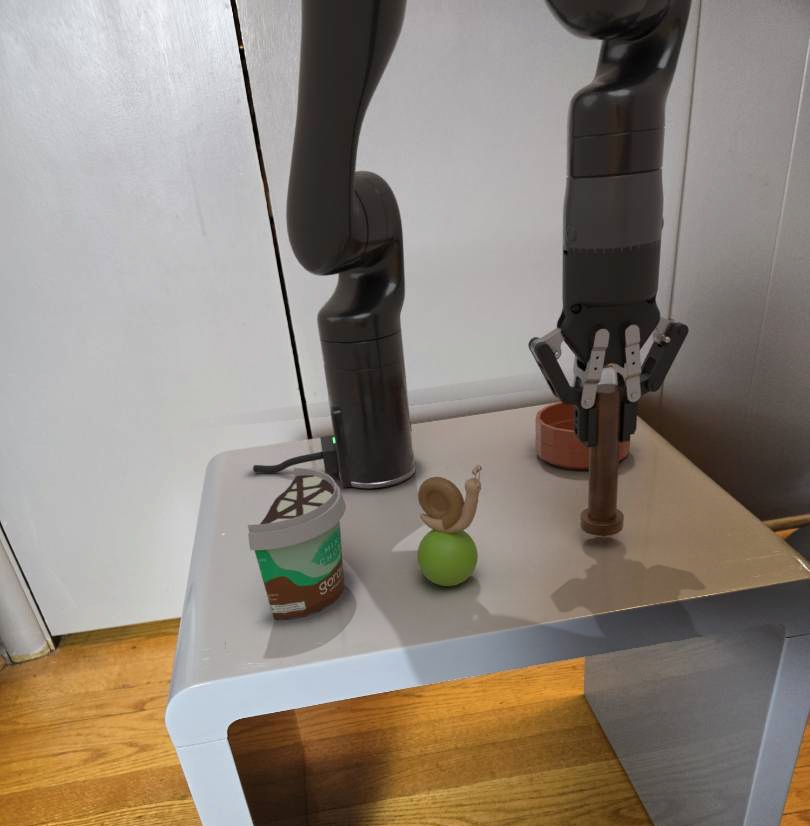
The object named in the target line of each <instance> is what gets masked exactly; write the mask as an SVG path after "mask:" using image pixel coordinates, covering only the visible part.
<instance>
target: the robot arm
mask: <svg viewBox="0 0 810 826" xmlns="http://www.w3.org/2000/svg"><path fill="white" fill-rule="evenodd" d="M692 2H693V0H543V3H544V5H545V6H546V9H547V10H548V12H549V13H550V14H551V16H552V17H553V18H554V20H555V21H556V22H557V23H558V24H559V25H560V27H562V29H564V30H565V31H566V32H567V33H569V34H570V35H572V36H573V37H575V38H577V39H581V40H584V41H601V42H600V49H599V53H598V59H597V64H596V69H595V73H594V77H593V79H592V80H591V82H590V83H589V84H587V85H585V86H583V87H582V88H580V89H579V90H577V91H576V92H575V93H574V94H573V96H572V97H571V99H570V101H569V105H568V110H567V118H566V120H567V121H566V167H565V168H566V169H565V170H566V172H565V175H566V178H565V190H564V191H565V192H564V197H563V205H562V206H563V207H562V276H561V277H562V279H561V280H562V282H561V283H562V284H561V285H562V288H561V289H562V291H561V292H562V293H561V295H562V297H561V298H562V299H561V300H562V309H561V312H560V316H559V317H558V319H557V322H556V328H554V329H553V330H550V331H549V332H548V333H547V334H544V335H543V336H541V337H537V336H534V337H532V338H530V340H529V341H528V345H527V346H528V349H529V351H530V353H531V354H532V356H533V358H534V360H535V362H536V364H537V366H538V368H539V370H540V372H541V374H542V376H543V378H544V380H545V381H546V383H547V385H548V387H549V390H550V391H551V393H552V395H553V396H554V397H555V398H557V399H558V400H559V402H562V403H563V404H565V405H569V404H573V405H574V434H575V437H576V438H577V439H578V440H579V441H580V442H581V443H582V444H583V445H584V446H585V447H586V448H588V447H594V446H595V444H596V414H597V408H596V407H595V406H593V405H594V402H595V396H596V390H597V385H599V383H600V382H601V380H602V374H603V369H604V367H606V366H609V365H611V367H612V369H613V371H614V377H615V378H614V379H615V384H616V385H619V386H621V387H622V400H621V422H620V442H627V441H630V442H631V435H635V433H636V431H637V427H638V423H637V421H638V406H639V401H640V399H641V397H642V396H644V395H646V394H648V393H656V392H658V391H659V390H660V389H661V387H662V385H663V383H664V381H665V379H666V377H667V375H668V373H669V371H670V369H671V368H672V365H673V364H674V362H675V359H676V358H677V355H678V354H679V352H680V350H681V348H682V346H683V344H684V342H685V341H686V338H687V337H688V335H689V331H690V330H689V326H688V325H687V324H685V323H682V322H680V321H678V320H676V319H674V318H671V317H670V318H665V317H663V316H661V310H660V309H659V306H658V303H657V295H658V291H659V279H660V267H661V266H660V264H661V263H660V262H661V250H662V235H663V234H662V233H663V229H664V223H665V221H664V203H665V202H664V201H665V199H664V185H663V183H664V182H663V164H664V151H665V150H664V149H665V132H666V128H665V127H666V108H667V107H666V106H667V102H668V97H669V93H670V90H671V87H672V84H673V80H674V78H675V74H676V70H677V67H678V63H679V58H680V55H681V50H682V46H683V43H684V39H685V35H686V31H687V26H688V23H689V19H690V13H691V8H692V4H693V3H692ZM407 4H408V0H300V8H301V9H300V13H301V15H300V19H301V20H300V43H299V45H300V46H299V47H300V48H299V65H298V80H297V81H298V83H297V84H298V85H297V103H296V114H295V127H294V134H293V136H294V137H293V143H292V150H291V159H290V167H289V176H288V183H287V194H286V203H285V204H286V205H285V223H286V231H287V233H286V234H287V237H288V242H289V246H290V249H291V250H292V254H293V256H294V257H295V259H296V260H297V262H298V264H299V265H300V266H301V267H302V268H303V269H304V270H305V271H306V272H308V273H309V274H310V275H311V274H312V275H314V276H319V277H329V276H334V275H337V278H338V279H337V282H336V285H335V288H334V290H333V292H332V294H331V295H330V296H329V298H328V299H327V301H325V302H324V304H323V305H321V307H320V308H319V310H318V311H317V314H316V324H317V332H318V337H319V343H320V349H321V350H320V351H321V355H322V363H323V371H324V377H325V384H326V390H327V397H328V398H327V400H328V401H327V402H328V406H329V413H330V419H331V420H330V421H331V425H332V426H331V427H332V434H331V435H330V434H329V435H324V436H320V438H319V439H320V446H321V451H318V452H314V453H308V454H303V455H298V456H295V457H294V456H293V457H291V458H288V459H286V460H284V461H283V462H281V463H279V464H275V465H264V464H263V465H262V464H254V465H253V467H252V469H253V473H265V474H273V473H279V472H282V471H284V470H286V469H288V468H290V467H292V466H296V465H300V464H303V463H309V462H314V461H319V460H323V466H324V473H325V474H327V475H329V474H334V473H338V477H339V480H340V485H341V488H343V489H344V488H356V489H357V488H358V489H379V488H385V487H390V486H391V487H392V486H394V485H397V484H400V483H402V482H405V481H406V480H408V479H410V478H411V477H412V476H413V475H414V474H415V472H416V462H415V457H414V454H415V453H414V449H413V448H414V447H413V437H412V432H413V431H412V421H411V417H410V416H411V415H410V405H409V395H408V384H407V375H406V364H405V352H404V344H403V343H404V342H403V332H402V331H403V330H402V322H401V321H402V320H401V319H402V318H401V314H402V310H403V306H404V304H405V299H406V298H405V297H406V278H405V277H406V276H405V275H406V274H405V254H404V253H405V251H404V250H405V249H404V233H403V223H402V215H401V211H400V206H399V203H398V200H397V198H396V195H395V193H394V191H393V189H392V187H391V186H390V184H389V183H388V182H387V180H386V179H385V178H383V177H382V176H381V175H379V174H378V173H375V172H373V171H370V170H356V167H357V159H358V158H357V157H358V149H359V142H360V136H361V131H362V127H363V123H364V120H365V117H366V114H367V111H368V109H369V107H370V104H371V101H372V99H373V97H374V95H375V93H376V91H377V89H378V86H379V84H380V83H381V81H382V78H383V77H384V76H383V75H384V74H385V71H386V69H387V67H388V65H389V63H390V61H391V58H392V57H393V55H394V52H395V50H396V47H397V44H398V41H399V38H400V36H401V34H402V30H403V27H404V24H405V23H404V22H405V17H406V10H407ZM650 336H652V341H653V342H652V344H651V347H650V348H649V350H648V352H647V354H646V356H645V357H644V360H643V362H642V361H641V359H642V358H641V350H642V349H643V347H644V346H645V344H646V343H647V342H648V340H649V338H650ZM563 342H564V343H565V344H566V346H567V347H568V348H569V349H570V351H571V352H572V353H573V354H574V360H573V367H572V373H573V381H572V386H571V385H570V383H569V381H568V379H567V376H566V375H565V373H564V371H563V369H562V367H561V366H560V363H559V361H558V360H559V359H560V358H561V357H562V348H561V346H562V343H563Z"/></svg>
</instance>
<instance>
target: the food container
mask: <svg viewBox="0 0 810 826" xmlns="http://www.w3.org/2000/svg"><path fill="white" fill-rule="evenodd" d="M293 475H294V479H293V480H292V482H291V483H290V485H289V486H288V487H287V488H286V489H285V490H284V491H283V492H282V493H280V494H279V495H278V496H277V497H276V498H275V499H274V501H273V502H272V503H271V506H270V508H269V509H268V511H267V513H266V515H265V516H264V518H263V519H262V520H261V522H260V523H259V524H247V528H248V533H247V537H248V542H249V543H248V545H249V550H250V551H254V554H255V557H256V561H257V563H258V568H259V571H260V575H261V578H262V582H263V585H264V589H265V592H266V596H267V599H268V603H269V606H270V610H271V614H272V617H273V620H291V619H297V618H303V617H307V616H309V615H312V614H316V613H319V612H322V611H323V610H324V609H325V608H327V607H330V606H331V605H332V604H334V603H335V602H336V601H337V600H338V599H339V598H340V597H341V596H342V594H343V591H344V588H345V575H344V562H343V549H342V536H341V535H342V534H341V520H342V518H343V517H344V515H345V513H346V509H347V508H346V507H347V504H346V502H345V499H344V496H343V494H342V492H341V488H340V487H339V485H338V483H336V481H335V480H334V478H333V477H331V475H329V474H326V473H325V471H324V472H323V471H320V470H317V469H312V468H308V467H307V468H305V467H293Z"/></svg>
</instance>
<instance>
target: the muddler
mask: <svg viewBox="0 0 810 826" xmlns="http://www.w3.org/2000/svg"><path fill="white" fill-rule="evenodd" d="M621 400H622V387H621V386H619V385H616V383H600V384H599V383H598V384H597V390H596V396H595V402H594V405H593V406H595V407H596V408H597V414H596V444H595V446H594V447H590V449H589V469H588V489H587V490H588V492H587V493H588V494H587V496H588V497H587V508H585V509H583V510H582V511H581V512H580V514H579V527H580V529H581V530H582V531H583V532H585V534H588V535H591V536H596V537H608V536H613V535H617V534H619V533H621V532H622V531H623V529H624V526H625V525H624V524H625V514H624V513H623V512H622V510H620V509H618V508H617V507H618V487H619V486H618V485H619V464H620V463H619V462H620V460H619V444H620V422H621Z"/></svg>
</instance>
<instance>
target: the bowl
mask: <svg viewBox="0 0 810 826" xmlns="http://www.w3.org/2000/svg"><path fill="white" fill-rule="evenodd" d="M630 443H631V440H630V441H627V442H620V444H619V461H622V460H623V459H624V458H626V457H627V456H628V455H629V454H630V447H631V444H630ZM589 449H590V447H588V448H586V447H585V446H584V445H583V444H582V443H581V442H580V441H579V440H578V439H577V438H576V437H575V434H574V405H573V404H569V405H565V404H563V403H562V402H561V401H557V402H555V403H551V404H548V405H545V406H544V407H542V408H541V409H539V410H538V411H537V412H536V415H535V453H536V455H538V457H539V458H540V459H541V460H543V461H546V462H547V463H549V464H551V465H553V466H555V467H558V468H564V469H568V470H589Z"/></svg>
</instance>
